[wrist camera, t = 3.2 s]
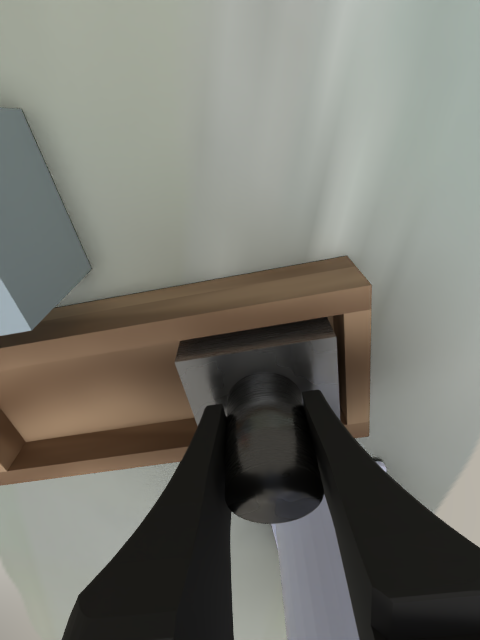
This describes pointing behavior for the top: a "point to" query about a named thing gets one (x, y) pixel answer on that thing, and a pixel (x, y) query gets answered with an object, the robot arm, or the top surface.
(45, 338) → the rail
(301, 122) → the top surface
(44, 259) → the button housing
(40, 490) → the top surface
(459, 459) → the top surface
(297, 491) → the carriage
